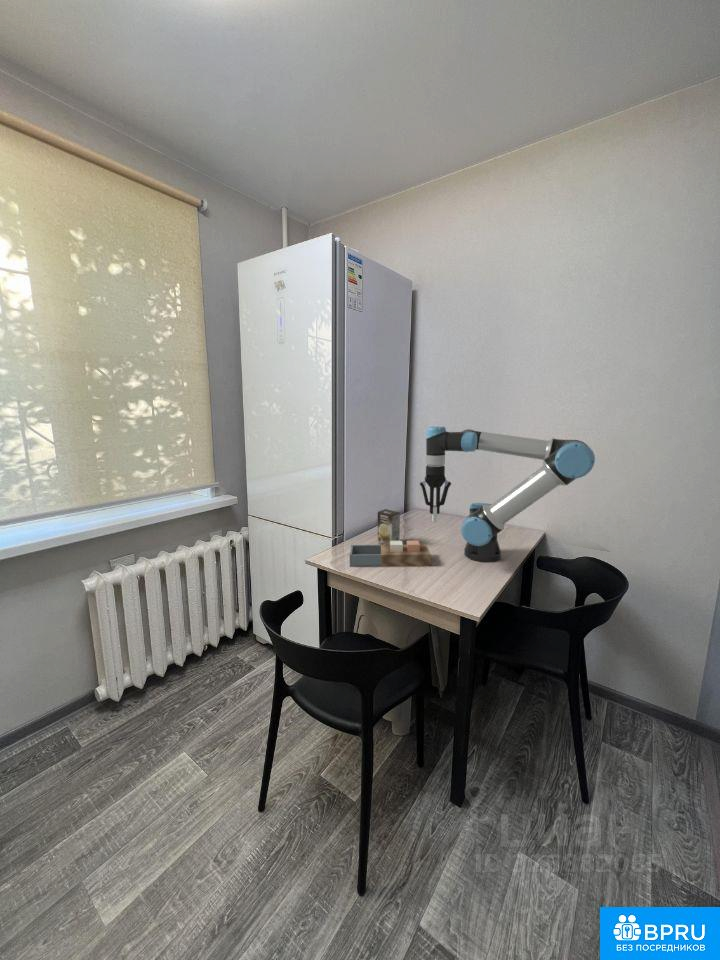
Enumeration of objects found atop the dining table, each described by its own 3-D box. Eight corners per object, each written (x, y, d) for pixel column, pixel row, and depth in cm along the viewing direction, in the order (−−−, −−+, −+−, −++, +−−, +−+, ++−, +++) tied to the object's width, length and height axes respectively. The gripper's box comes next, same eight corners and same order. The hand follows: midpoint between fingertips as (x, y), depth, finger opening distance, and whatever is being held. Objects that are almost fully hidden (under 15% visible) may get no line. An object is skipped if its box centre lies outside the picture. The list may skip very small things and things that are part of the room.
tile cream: (401, 547, 165) (401, 540, 164) (402, 551, 160) (402, 544, 159) (390, 547, 165) (390, 540, 165) (390, 551, 160) (390, 544, 160)
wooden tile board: (426, 555, 169) (426, 544, 168) (430, 566, 157) (430, 554, 156) (380, 555, 170) (380, 544, 169) (381, 566, 158) (381, 555, 157)
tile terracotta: (418, 547, 165) (418, 540, 164) (419, 551, 160) (419, 544, 159) (406, 547, 165) (406, 540, 164) (407, 551, 160) (407, 544, 159)
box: (380, 555, 170) (380, 544, 169) (381, 566, 158) (381, 555, 157) (351, 555, 170) (351, 545, 169) (349, 566, 158) (349, 555, 157)
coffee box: (377, 544, 184) (376, 511, 181) (385, 540, 189) (385, 508, 186) (392, 548, 178) (391, 514, 175) (400, 544, 182) (400, 511, 179)
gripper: (449, 463, 159) (448, 518, 163) (418, 464, 159) (417, 518, 164) (453, 466, 151) (452, 523, 156) (420, 466, 152) (419, 524, 156)
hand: (434, 521), depth 160 cm, fingers closed
